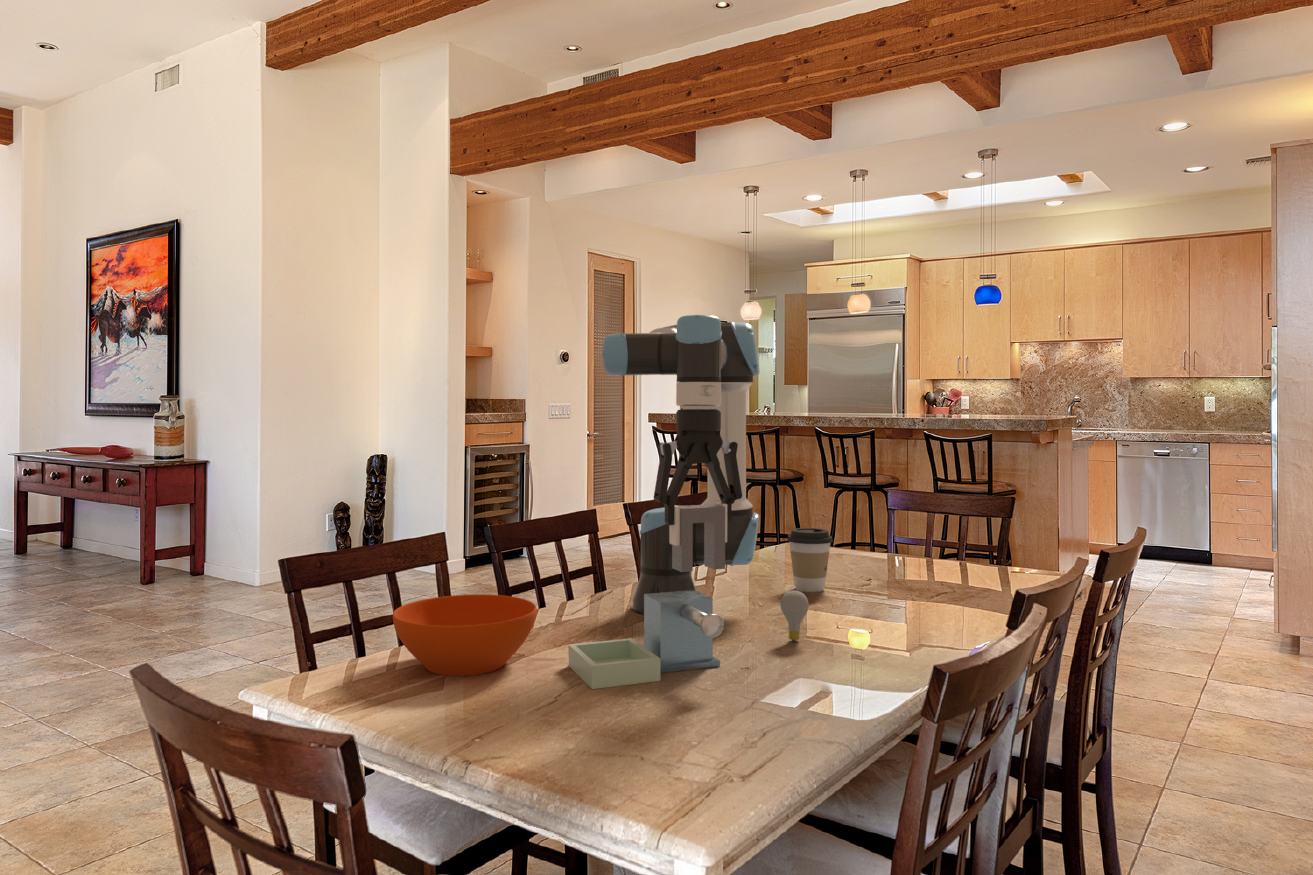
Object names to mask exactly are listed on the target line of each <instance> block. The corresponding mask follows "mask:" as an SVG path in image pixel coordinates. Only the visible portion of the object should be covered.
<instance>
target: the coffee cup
mask: <svg viewBox="0 0 1313 875" xmlns="http://www.w3.org/2000/svg"><path fill="white" fill-rule="evenodd" d="M787 542H789V550H790V558H791V566H792V574H793V576H792V577H793V585H794V586H795V591H799V592H802V593H803V592H804V593H820V592H823V591H824V589H825V586H826V579H827V571H828V565H829V564H828V563H829V557H830V550H831V549H830V548H831V543H833V542H834V541H833V537H832V535H830V533H829V530H827V529H824V528H816V527H799V528H792V529H791V531H790V534H788V535H787Z"/></svg>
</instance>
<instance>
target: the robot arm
mask: <svg viewBox="0 0 1313 875" xmlns="http://www.w3.org/2000/svg"><path fill="white" fill-rule="evenodd" d="M601 352H602V365H603V368H604V371H605V372H606V373H607V374H608V375H611V376H621V377H623V376H650V375H651V376H652V375H653V376H656V375H657V376H658V375H660V376H669V375H670V376H673V375H674V376H676V384H675V386H676V392H675V393H676V394H675V397H676V398H675V399H676V400H675V403H676V404H675V405H676V406H677V407H679V409H677V411H676V413H675V417H676V419H675V422H676V424H675V426H676V428H675V430H676V434H675V435H676V436H675V438H674V439H673V441H668V442H660V443H659V444H658V450H659V462H658V467H657V468H658V469H657V475H656V481H655V486H654V487H655V488H654V491H653V492H654V493H653V500H654V501H655V502H657V503H661V504H662V505H663V506H664V507H659V508H658V507H657V508H653V509H649V510H647V511H645V512H644V513H643V514H642V515H641V518H640V530H639V534H640V576H639V579H638V582H637V586H636V589H635V592H634V595H633V599H632V610H633V611H634V612H636V613H639V614H642V615H644V594H650V593H663V592H675V591H687V590H696V591H697V588H696V586H695V582H694V579H693V576H692V574H693V573H692V572H693V571H690V572H680V571H678V570H676V569H673V568H672V544H673V545H675V546H679V545H680V506H681V505H676V503H677V501H678V498H679V496H680V494H681V491H682V489H683V486H684V483H685V481H686V478H687V476H688V473H689V471H690V469H692V467H693V465H694V464H695V465H696V464H704V465H705V467H706V468H707V497H706V499H705V500H704V501H703V502H702V503H701V504H700V505H710V504H716V505H720V506H724V507H725V566H730V567H733V566H747V565H749V564H751V563H752V561H753V560H754V556H755V551H756V545H757V539H758V538H757V537H758V531H759V529H758V528H759V521H760V515H759V514H758V513H757V512H753V510H754V509H753V506H754V505H753V504H752V503H751V502H750V501H749V499H748V498H747V437H746V436H747V390H748V389H749V388H750V387H751V386H752V385H753V384H754V377H756V376H758V375H759V374H760V361H759V360H760V359H759V351H758V344H757V339H756V333H755V329H754V327H753V326H752V324H749V323H748V322H747V323H746V322H738V321H737V322H736V321H735V322H734V321H731V322H730V321H727V322H726V321H725V322H722V321H721V319H720V318H719V317H718V316H716V315H709V314H690V315H681V316H680V317H679V318H678V319H677V321H676V324H673V325H669V326H668V325H667V326H664V327H658V328H654V329H652V330H651V331H649V332H641V333H638V332H636V333H635V332H634V333H624V332H620V333H610V334H608V335H606V336H605V337H604V339H603V343H602V351H601ZM675 450H677V452H678V454H679V457H678V459H677V462H676V468H675V471H674V473H673V476H672V478H671V481H670V476H671V470H672V469H671V468H672V464H673V456H674V454H675ZM669 481H670V483H669ZM685 506H689V505H685ZM693 565H704V523H693Z"/></svg>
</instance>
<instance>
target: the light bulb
mask: <svg viewBox="0 0 1313 875" xmlns="http://www.w3.org/2000/svg"><path fill="white" fill-rule="evenodd" d="M809 605H810V604H809V600H808V598H807V596H806V595H805V594H804V593H803V592H802V591H798V590H796V589H795V590H793V589H792V590H789V591H787V592H786V593H784V594H783V596H782V597H781V600H780V609H781V612H782V614H783V615H784V617H785V619H786V621H787V623H788V639H789V640H791V641H792V642H794V641H795V642H796V641H799V640H800V637H801V635H800V634H801V633H800V631H801V623H802V621H803V620H804V618H805V617H806V615H807V613H808V610H809Z"/></svg>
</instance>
